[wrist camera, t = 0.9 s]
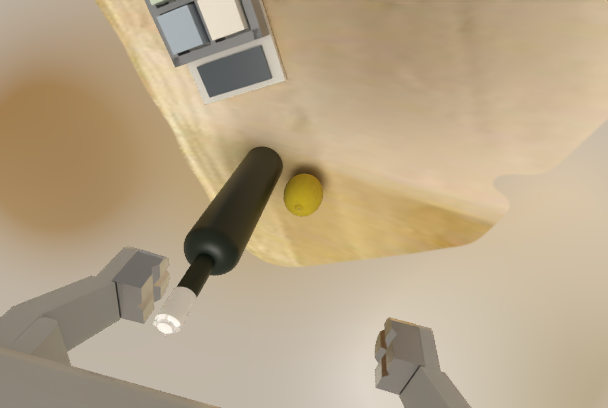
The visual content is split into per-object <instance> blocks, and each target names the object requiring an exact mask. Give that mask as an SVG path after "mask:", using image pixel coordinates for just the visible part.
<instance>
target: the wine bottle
mask: <svg viewBox="0 0 608 408" xmlns="http://www.w3.org/2000/svg"><path fill="white" fill-rule="evenodd" d="M282 169H283V164H282V160H281V158H280V157H279V155H278V154H277V153H276V152H275V151H273V150H272V149H270V148H267V147H257V148H254V149H252V150H251V151H250V152H249V153H248V154H247V156H246V157H245V158H244V160H243V161H242V162H241V164H240V165H239V166H238V168H237V169H236V170H235V172H234V173H233V174H232V176H231V177H230V178H229V180H228V181H227V182H226V184H225V185H224V186H223V188H222V189H221V190H220V192H219V193H218V194H217V196H216V197H215V198H214V200H213V201H212V202H211V204H210V205H209V206H208V208H207V209H206V210H205V212H204V213H203V214H202V216H201V217H200V218H199V220H198V221H197V222H196V224H195V225H194V226H193V228H192V229H191V231H190V232H189V233H188V235H187V236H186V239H185V242H184V253H185V256H186V259H187V260H188V262H189V263H190V264H191V266H190V267H189V269H188V270H187V272H186V274H185V275H184V276H183V278H182V279H181V281H180V283H179V284H178V286H177V287H176V288H175V289H174V290H173V291H172V293H171V294H170V296H169V297H168V299H167V300H166V302H165V303H164V305H163V307H162V308H161V309H160V311H159V313H158V314H157V316H156V317H155V320H154V322H153V323H152V325H154V326H157V328H158V329H159V330H160V331H161V332H163V333H165V336H166V335H167V334H170V333H172V332H179V330H180V329H181V327H182V326H183V324H184V322H185V320H186V318H187V317H188V315H189V313H190V311H191V309H192V308H193V306H194V304H195V302H196V300H197V296H198V295H199V293H200V291H201V289H202V288H203V286H204V284H205V282H206V280H207V279H208V277H209V275H222V274H225V273H227V272H229V271H231V270H232V269H233V268H234V267H235V266H236V265H237V263H238V262H239V260H240V258H241V256H242V253H243V251H244V249H245V247H246V245H247V243H248V241H249V239H250V237H251V235H252V233H253V231H254V229H255V227H256V224H257V222H258V220H259V218H260V216H261V214H262V212H263V210H264V208H265V206H266V204H267V202H268V200H269V197H270V195H271V193H272V191H273V189H274V187H275V185H276V183H277V181H278V179H279V177H280V175H281V173H282Z"/></svg>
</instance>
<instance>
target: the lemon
mask: <svg viewBox="0 0 608 408" xmlns="http://www.w3.org/2000/svg"><path fill="white" fill-rule="evenodd" d="M322 198H323V189H322V186H321V183H320V182H319V180H318V179H317V178H316V177H314V176H312V175H310V174H299V175H296V176H294V177H293V178H292V179H290V181H289V182H288V183H287V185H286V187H285V190H284V202H285V206H286V207H287V209H288V210H289V211H290V212H291V213H292V214H294V215H296V216H308V215H310V214H312V213H314V212H315V211H316V210H317V209H318V207H319V206H320V204H321V201H322Z"/></svg>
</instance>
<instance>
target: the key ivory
mask: <svg viewBox="0 0 608 408" xmlns="http://www.w3.org/2000/svg"><path fill="white" fill-rule="evenodd" d="M197 3H198V5H199V8H200V10H201V13H202V15H203V18H204V20H205V23H206V25H207V28H208V30H209V33H210V36H211V38H212V41H213V40H216V39H220V38H222V37H225V36H228V35H231V34H234V33H236V32H239V31H242V30H245V29H248V28H250V25H249V22H248V19H247V16H246V13H245V10H244V7H243V4H242V1H241V0H198V1H197Z"/></svg>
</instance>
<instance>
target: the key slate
mask: <svg viewBox="0 0 608 408" xmlns="http://www.w3.org/2000/svg"><path fill="white" fill-rule="evenodd" d="M157 19H158V22H159V24H160V26H161V28H162V30H163V33H164V35H165V37H166V39H167V41H168V44H169V46H170V48H171V50H172V52H173V55H174V54H177V53H181V52H184V51H186V50H189V49H192V48H195V47H197V46H200V45H203V44H206V43H209V42H210V40H209V37H208V35H207V32H206V30H205V27H204V25H203V22H202V20H201V17H200V15H199V12H198V10H197V7H196V5H195V4H191V5H185V6H183V7H180V8H178V9H175V10H173V11H170V12H168V13H165V14H163V15H160V16H158V17H157Z"/></svg>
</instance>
